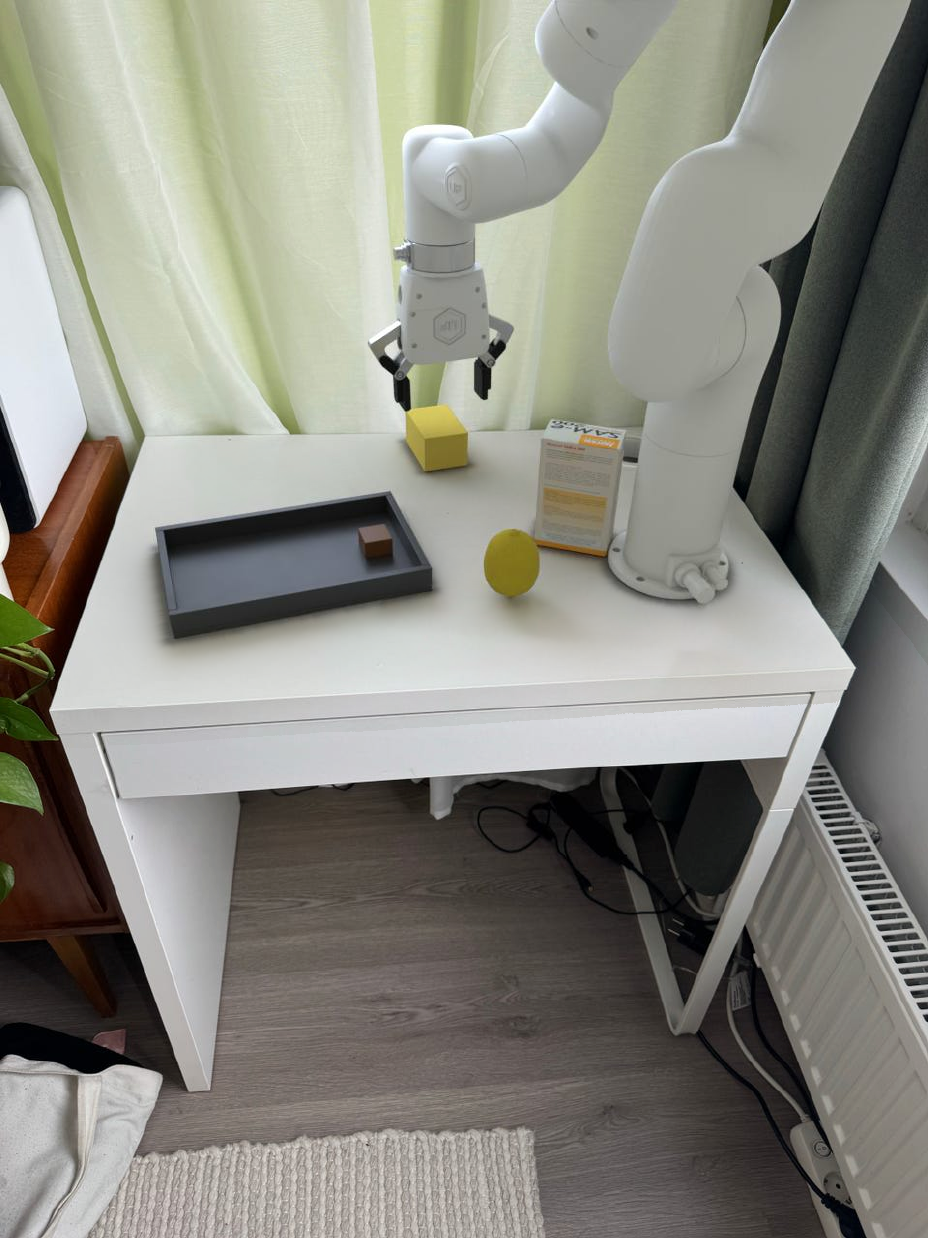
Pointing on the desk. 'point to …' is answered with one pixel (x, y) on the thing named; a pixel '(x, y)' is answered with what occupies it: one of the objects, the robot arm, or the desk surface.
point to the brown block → (375, 541)
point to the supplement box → (578, 486)
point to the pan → (285, 563)
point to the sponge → (436, 437)
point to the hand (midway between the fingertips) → (443, 401)
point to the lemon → (511, 562)
